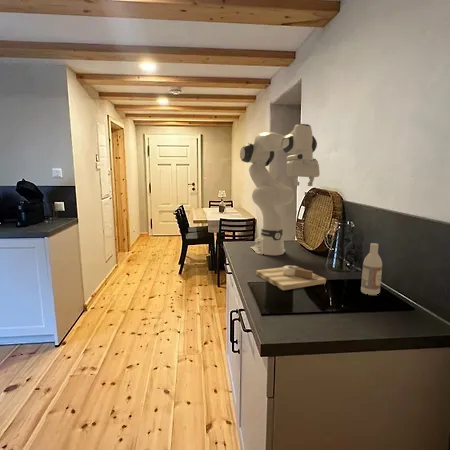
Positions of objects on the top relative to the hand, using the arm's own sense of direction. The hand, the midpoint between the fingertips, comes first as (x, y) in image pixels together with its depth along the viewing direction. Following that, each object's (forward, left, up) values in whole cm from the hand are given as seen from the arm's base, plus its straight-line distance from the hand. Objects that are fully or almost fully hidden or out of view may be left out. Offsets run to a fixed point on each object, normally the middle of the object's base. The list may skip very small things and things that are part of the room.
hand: (303, 185), depth 161 cm
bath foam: (+41, +3, -41) cm, 58 cm away
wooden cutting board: (+15, -17, -41) cm, 46 cm away
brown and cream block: (+18, -15, -38) cm, 45 cm away
